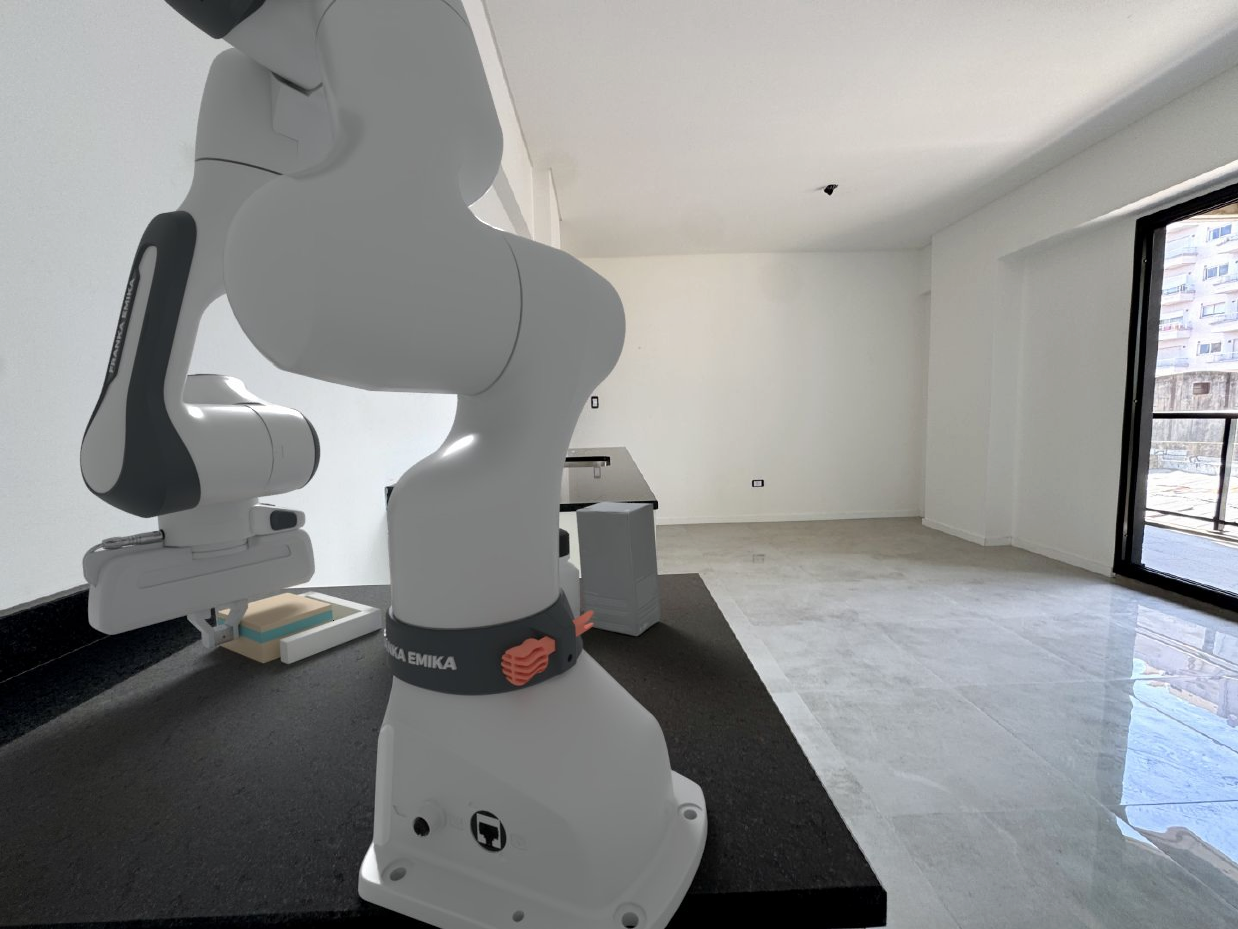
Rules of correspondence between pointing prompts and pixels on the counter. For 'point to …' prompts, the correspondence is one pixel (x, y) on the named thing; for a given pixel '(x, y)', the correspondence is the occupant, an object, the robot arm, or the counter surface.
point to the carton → (275, 624)
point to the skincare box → (619, 566)
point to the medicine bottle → (568, 574)
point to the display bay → (331, 628)
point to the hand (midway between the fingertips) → (221, 642)
